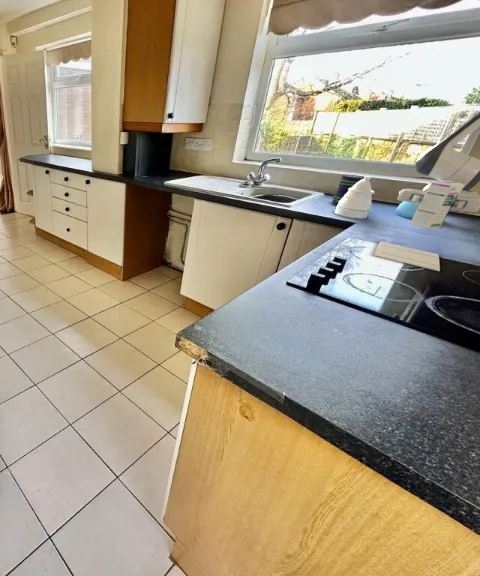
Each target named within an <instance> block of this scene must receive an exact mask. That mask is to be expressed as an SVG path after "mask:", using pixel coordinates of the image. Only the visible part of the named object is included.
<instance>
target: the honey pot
mask: <svg viewBox="0 0 480 576" xmlns="http://www.w3.org/2000/svg"><path fill="white" fill-rule="evenodd" d="M363 177H364V179H362V180H360V181H359V182H357V183H356V184H355V185H354V186H353V187H352V188H349V189H348V190H349V191H348V192H347V193H346V194H345V195H344V197H343V198H342V199H341V200H340V201H339V203H338V205H336V208H335V210H334V214H336V215H338V216H341V217H345V218H346V217H347V218H352V219H361V220H362V219H367V218H368V215H369V214H370V211H371V209H372V200H373V198H372V195H373V194H375V193H376V191H375V190H372V185H371V182H370V180H371V179H372V176H369V175H365V176H363Z"/></svg>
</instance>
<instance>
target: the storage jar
mask: <svg viewBox="0 0 480 576" xmlns="http://www.w3.org/2000/svg"><path fill="white" fill-rule="evenodd" d="M364 177H365V176H361V175H354V174H342V176H341V178H340V180H339V183H338V185H337V190H336V191H335V193H334V195H333V197H332V201H331V205H334V206H337V205H338V203H339V201H340V200H341V199H342V198H343V197H344V195H345V194H346V193H347V192H348V191H349V190H348V189H349V188H352V187H353V186H354V185H355V184H356V183H357V182H359V181H360V180H362V179H364Z"/></svg>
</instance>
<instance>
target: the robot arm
mask: <svg viewBox="0 0 480 576" xmlns="http://www.w3.org/2000/svg"><path fill="white" fill-rule="evenodd" d="M478 128H480V110H479V111H478V112H477V113H475V114H474V115H472V116H471V117H470V118H469V119H467V120H466V121H464V123H462V124H461V125H459V126H458V127H457V128H456V129H454V130H453V131H452V132H451V133H449V134H448V135H446V136H445V138H443V139H442V140H441V141H440V142H438V143H436V144H435V145H433V146H432V147H430V148H429V149H427V150H426V151H424V152H423V153H422V154H421V155H420V156H419V157H418V158H417V160H416V162H415V165H414V166H415V170H416V172H417V173H418V174H421V175H424V176H426V177H430V178H433V179H435V180H436V181H452V182H459V183H463V184H464V186H463V188H462V190H461V192H460V193H459V195H458V197H457V199H456V201H455V202H454V204H453V205H452V208H451V209H450V211H455V212H472V213H477V212H479V210H480V195H478V192H476V191H473V190H471V189H472V188H475V186H476V185H478V184H479V183H480V159H479V158H476V157H474V156H470V155H468V154H466V153H463V152H461V151H458V150H456V149H455V148H454V147H455V145H457V144H459V143H460V142H461V141H462V140H464V139H465V138H466V137H467V136H469V135H470V134H472V133H473V132H474V131H476V129H478ZM430 184H431V182H430V183H429V184H427V185H426V186H424V187H423V188H422V189H414V188H403V189H401V190H400V191H399V192H398V196H397V198H396V200H397V201H400V202H403V201H405V202H412V203H418V204H420V203H421V201H422V199H423V197H424V195H425V193H426V191H427V190H428V188H429V186H430Z"/></svg>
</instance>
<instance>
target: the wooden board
mask: <svg viewBox="0 0 480 576" xmlns="http://www.w3.org/2000/svg"><path fill="white" fill-rule="evenodd" d="M373 256H374V257H376V258H382V259H384V260H385V259H386V260H390V261H393V262H398V263H401V264H402V263H403V264H407V265H410V266H414V267H419V268H421V269H422V268H423V269H427V270H431V271H436V272H440V271H441V266H440V254H439V253H436V252H431V251H426V250H421V249H416V248H412V247H406V246H403V245H399V244H394V243H389V242H385V241H379V243H378V246H377V248H376V250H375V252H374V254H373Z"/></svg>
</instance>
